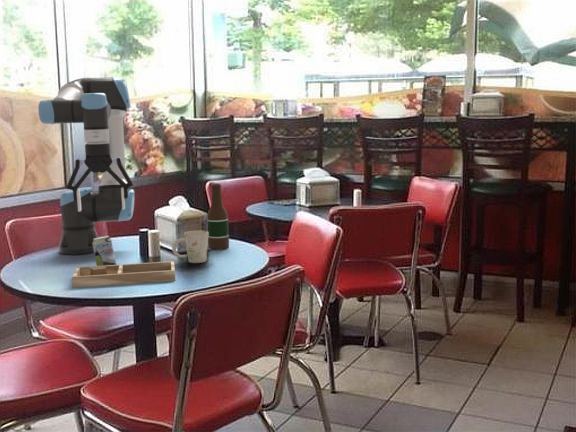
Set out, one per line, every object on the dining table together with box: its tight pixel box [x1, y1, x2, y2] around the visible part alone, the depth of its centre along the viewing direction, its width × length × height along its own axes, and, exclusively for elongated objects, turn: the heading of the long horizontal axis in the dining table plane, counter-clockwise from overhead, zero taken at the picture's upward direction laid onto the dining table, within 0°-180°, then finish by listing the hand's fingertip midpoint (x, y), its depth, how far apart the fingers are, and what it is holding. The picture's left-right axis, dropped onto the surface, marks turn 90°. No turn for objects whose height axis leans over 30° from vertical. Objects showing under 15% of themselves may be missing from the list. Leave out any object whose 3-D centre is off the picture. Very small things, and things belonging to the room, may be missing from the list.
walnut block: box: [90, 265, 107, 275], centre depth 217 cm, size 4×4×4 cm
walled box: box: [71, 260, 176, 288], centre depth 219 cm, size 13×30×4 cm, turn 100°
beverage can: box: [92, 235, 117, 266], centre depth 230 cm, size 6×7×12 cm
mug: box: [171, 229, 208, 264], centre depth 242 cm, size 8×13×10 cm, turn 107°
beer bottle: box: [206, 183, 230, 251], centre depth 263 cm, size 8×8×24 cm
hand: (101, 209), depth 226 cm, fingers open, 13 cm apart
